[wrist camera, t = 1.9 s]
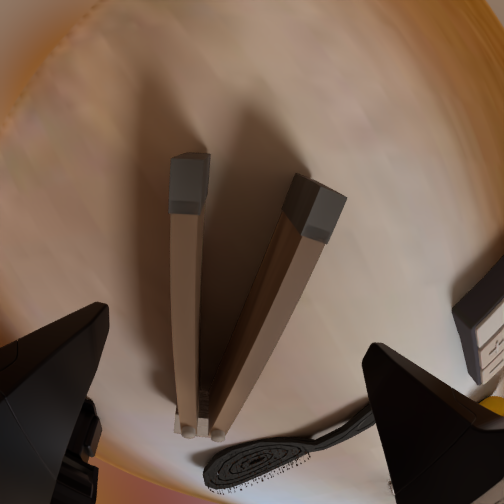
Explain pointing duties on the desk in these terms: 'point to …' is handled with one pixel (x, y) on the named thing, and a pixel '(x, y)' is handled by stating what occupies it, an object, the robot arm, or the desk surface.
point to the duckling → (494, 404)
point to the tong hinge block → (202, 416)
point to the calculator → (483, 325)
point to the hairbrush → (274, 453)
